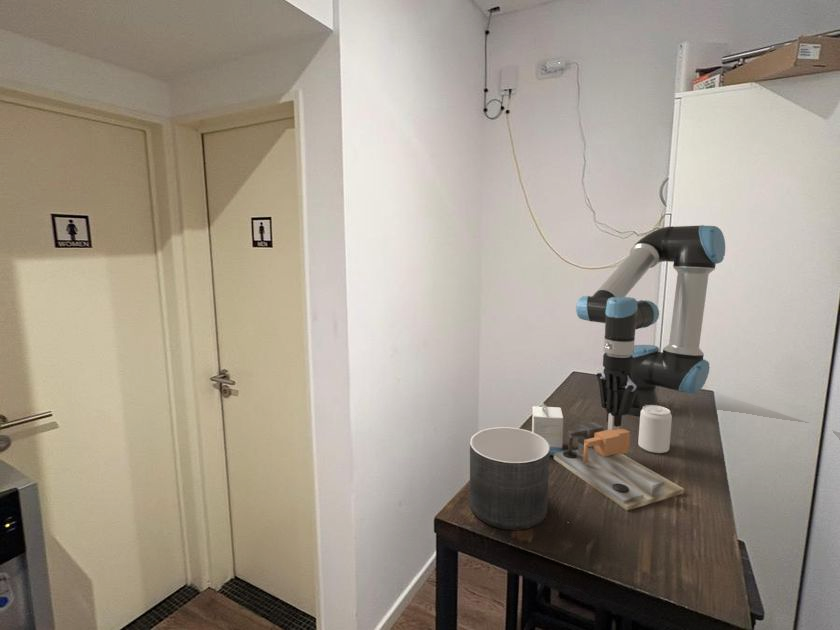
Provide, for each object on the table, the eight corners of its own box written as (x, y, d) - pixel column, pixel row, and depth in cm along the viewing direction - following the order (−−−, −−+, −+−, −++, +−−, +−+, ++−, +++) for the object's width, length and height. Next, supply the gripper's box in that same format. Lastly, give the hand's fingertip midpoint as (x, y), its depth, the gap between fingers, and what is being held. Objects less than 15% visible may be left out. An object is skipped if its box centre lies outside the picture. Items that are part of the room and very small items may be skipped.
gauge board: (603, 447, 131) (605, 417, 130) (683, 493, 107) (686, 457, 106) (553, 459, 125) (555, 427, 123) (626, 510, 101) (629, 472, 99)
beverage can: (634, 448, 130) (637, 410, 128) (643, 439, 136) (645, 402, 134) (664, 457, 125) (668, 417, 123) (672, 447, 131) (675, 409, 129)
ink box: (562, 457, 126) (564, 412, 124) (532, 454, 128) (533, 410, 126) (559, 443, 134) (561, 401, 132) (531, 441, 136) (532, 399, 134)
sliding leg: (619, 449, 124) (621, 427, 123) (631, 455, 120) (632, 432, 119) (578, 459, 119) (579, 436, 118) (589, 466, 115) (590, 442, 114)
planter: (466, 485, 113) (467, 427, 110) (537, 485, 112) (539, 426, 109) (473, 530, 95) (473, 463, 92) (556, 531, 94) (559, 463, 92)
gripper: (590, 350, 125) (586, 428, 129) (626, 361, 113) (620, 447, 117) (611, 347, 128) (606, 424, 132) (648, 358, 116) (642, 442, 120)
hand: (613, 435), depth 125 cm, fingers closed
